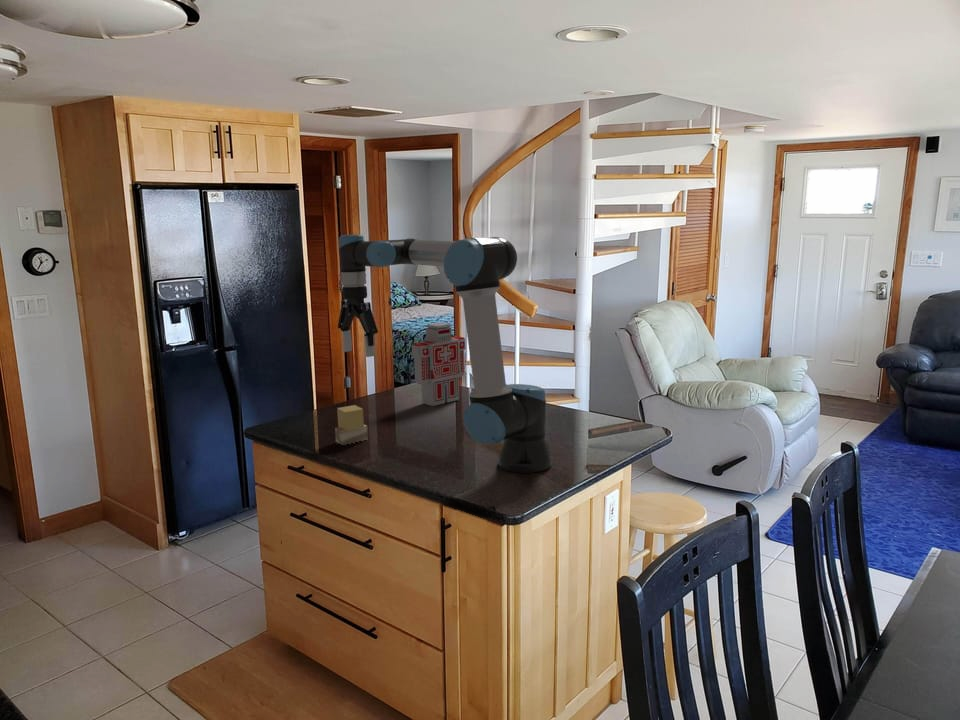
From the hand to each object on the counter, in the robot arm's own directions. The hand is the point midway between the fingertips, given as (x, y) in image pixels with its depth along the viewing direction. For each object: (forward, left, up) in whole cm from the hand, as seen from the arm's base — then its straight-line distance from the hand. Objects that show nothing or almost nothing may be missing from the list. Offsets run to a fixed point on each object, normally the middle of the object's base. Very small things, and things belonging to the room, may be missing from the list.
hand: (358, 353), depth 225 cm
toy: (+21, -46, -28) cm, 58 cm away
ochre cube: (+1, +3, -23) cm, 24 cm away
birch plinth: (+1, +3, -28) cm, 29 cm away
